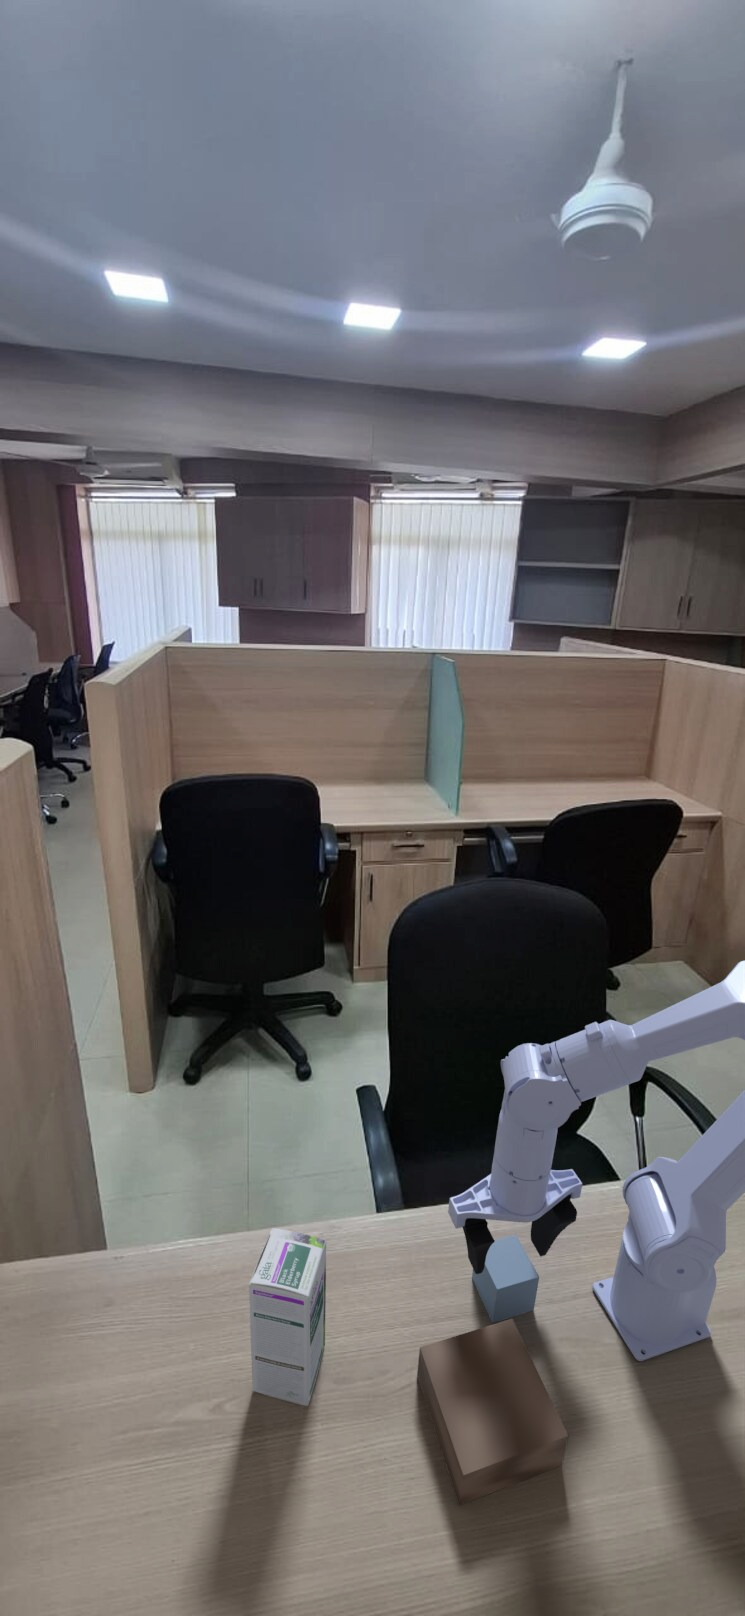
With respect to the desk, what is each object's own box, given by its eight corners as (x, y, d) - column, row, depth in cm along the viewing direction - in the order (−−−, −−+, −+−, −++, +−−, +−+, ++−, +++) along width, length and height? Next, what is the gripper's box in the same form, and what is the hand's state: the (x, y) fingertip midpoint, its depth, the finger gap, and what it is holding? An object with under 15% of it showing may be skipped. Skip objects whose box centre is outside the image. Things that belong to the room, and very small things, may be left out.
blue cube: (511, 1267, 75) (515, 1234, 73) (533, 1310, 70) (539, 1276, 69) (471, 1278, 74) (475, 1245, 72) (492, 1323, 69) (497, 1289, 67)
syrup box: (309, 1409, 61) (312, 1297, 56) (249, 1392, 62) (248, 1282, 57) (325, 1344, 66) (329, 1238, 62) (270, 1330, 67) (270, 1224, 63)
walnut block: (507, 1346, 67) (512, 1318, 66) (561, 1464, 58) (568, 1435, 57) (417, 1375, 64) (419, 1347, 63) (459, 1505, 55) (463, 1475, 54)
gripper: (562, 1115, 72) (545, 1208, 76) (441, 1140, 68) (431, 1238, 72) (601, 1167, 65) (581, 1265, 70) (470, 1198, 61) (457, 1301, 65)
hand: (507, 1256), depth 70 cm, fingers open, 7 cm apart
